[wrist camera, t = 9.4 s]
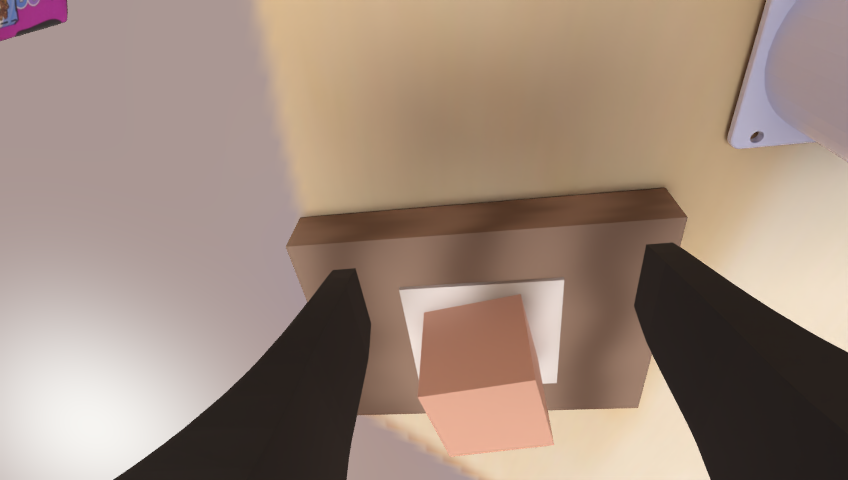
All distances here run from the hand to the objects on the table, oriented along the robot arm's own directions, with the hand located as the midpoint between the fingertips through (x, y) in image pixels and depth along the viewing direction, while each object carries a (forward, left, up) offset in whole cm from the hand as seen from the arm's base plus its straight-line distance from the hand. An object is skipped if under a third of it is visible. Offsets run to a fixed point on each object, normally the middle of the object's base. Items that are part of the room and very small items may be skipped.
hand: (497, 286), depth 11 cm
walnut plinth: (0, +11, -10) cm, 15 cm away
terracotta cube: (+1, +11, -8) cm, 13 cm away
